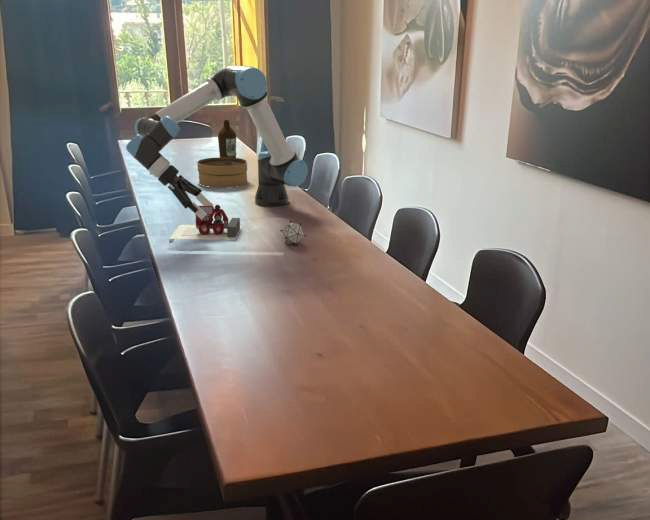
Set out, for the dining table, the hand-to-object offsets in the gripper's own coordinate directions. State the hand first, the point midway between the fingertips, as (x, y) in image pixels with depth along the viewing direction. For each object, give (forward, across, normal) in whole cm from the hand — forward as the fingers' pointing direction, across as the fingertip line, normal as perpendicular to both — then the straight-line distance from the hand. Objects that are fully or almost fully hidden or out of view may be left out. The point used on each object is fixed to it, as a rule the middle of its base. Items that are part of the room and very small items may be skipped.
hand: (207, 212), depth 231 cm
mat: (+6, 0, -7) cm, 9 cm away
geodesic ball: (+29, +9, +16) cm, 35 cm away
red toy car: (+7, 0, -5) cm, 8 cm away
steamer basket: (0, -89, -13) cm, 90 cm away
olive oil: (-4, -142, -17) cm, 144 cm away
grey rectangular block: (+12, 0, +1) cm, 12 cm away
